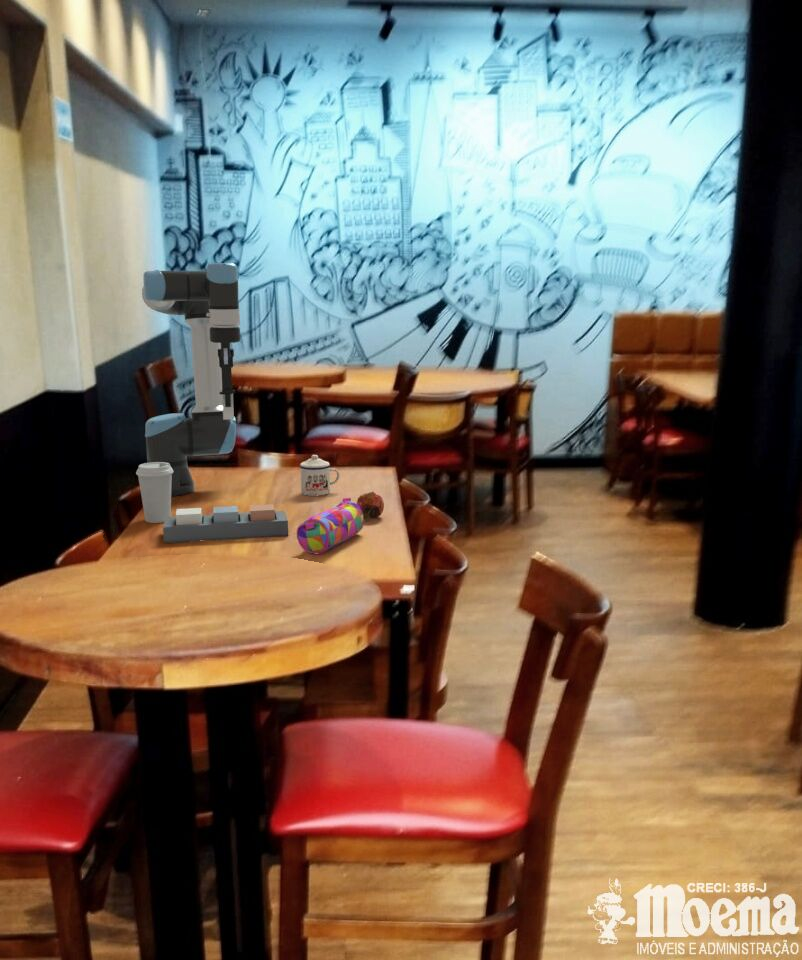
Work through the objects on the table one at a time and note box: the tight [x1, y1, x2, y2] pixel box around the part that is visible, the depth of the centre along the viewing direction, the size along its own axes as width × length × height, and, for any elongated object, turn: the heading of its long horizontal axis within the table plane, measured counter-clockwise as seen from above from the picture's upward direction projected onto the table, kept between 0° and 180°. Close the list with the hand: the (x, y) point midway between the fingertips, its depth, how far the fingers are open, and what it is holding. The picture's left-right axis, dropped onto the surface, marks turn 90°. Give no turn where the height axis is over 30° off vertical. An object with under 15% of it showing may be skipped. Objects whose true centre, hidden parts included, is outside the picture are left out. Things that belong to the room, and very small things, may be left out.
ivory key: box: [175, 507, 203, 525], centre depth 213 cm, size 6×6×4 cm
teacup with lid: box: [299, 454, 341, 497], centre depth 258 cm, size 12×9×12 cm
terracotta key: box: [249, 503, 276, 521], centre depth 217 cm, size 6×6×4 cm
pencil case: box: [296, 497, 365, 554], centre depth 207 cm, size 22×9×9 cm, turn 161°
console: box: [162, 510, 289, 544], centre depth 216 cm, size 10×30×4 cm, turn 101°
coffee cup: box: [135, 462, 173, 524], centre depth 228 cm, size 10×10×15 cm
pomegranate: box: [356, 491, 385, 522], centre depth 230 cm, size 7×7×10 cm
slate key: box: [212, 505, 239, 523], centre depth 215 cm, size 6×6×4 cm
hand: (228, 418), depth 221 cm, fingers closed
